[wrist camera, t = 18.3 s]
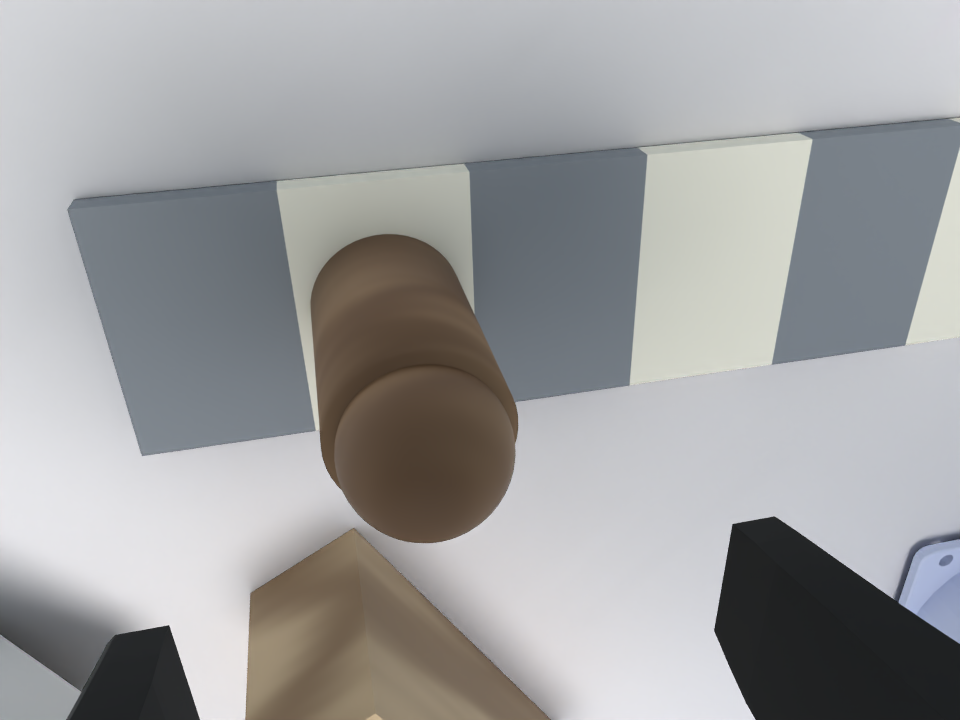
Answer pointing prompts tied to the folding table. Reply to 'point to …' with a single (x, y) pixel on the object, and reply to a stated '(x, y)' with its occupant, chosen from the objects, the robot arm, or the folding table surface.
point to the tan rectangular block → (365, 648)
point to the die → (31, 688)
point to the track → (537, 268)
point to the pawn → (408, 392)
